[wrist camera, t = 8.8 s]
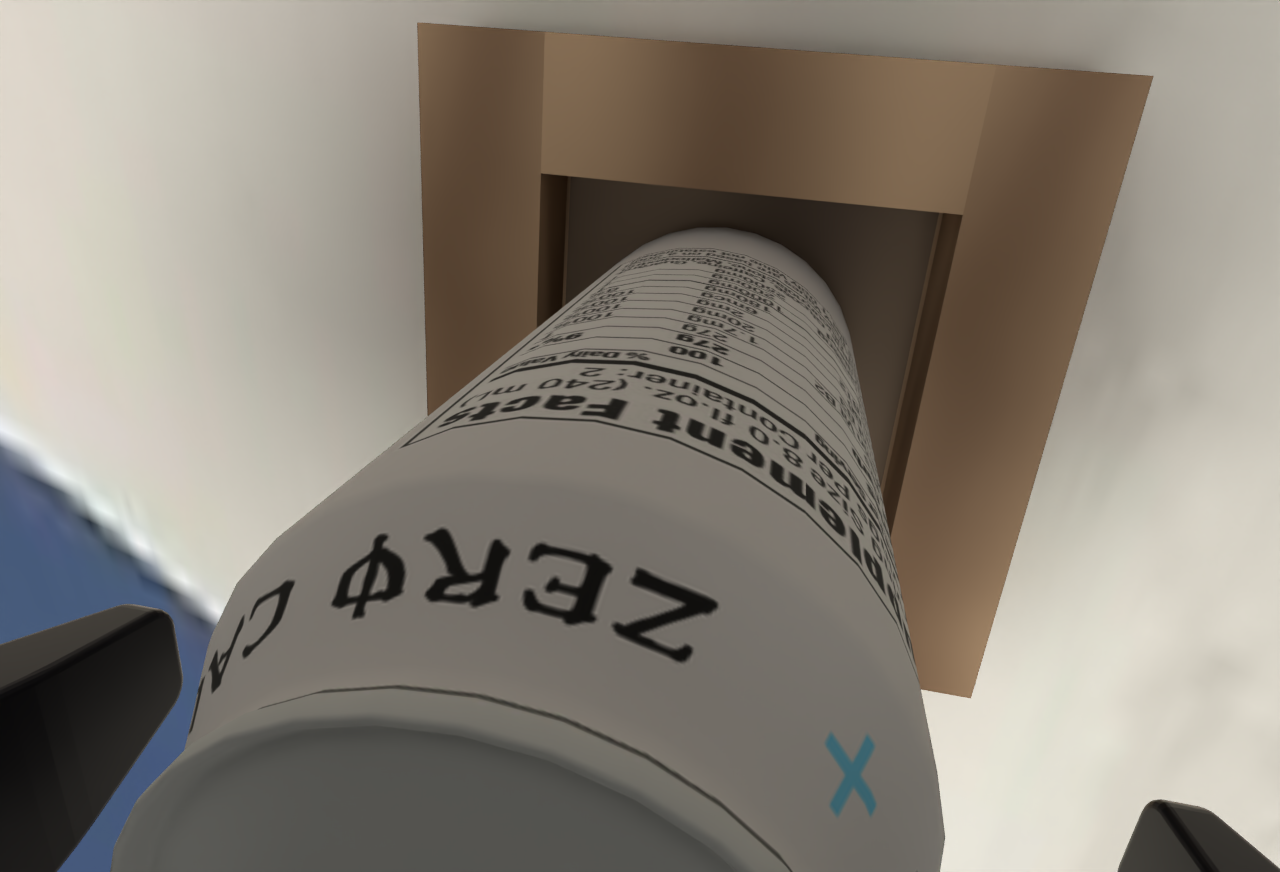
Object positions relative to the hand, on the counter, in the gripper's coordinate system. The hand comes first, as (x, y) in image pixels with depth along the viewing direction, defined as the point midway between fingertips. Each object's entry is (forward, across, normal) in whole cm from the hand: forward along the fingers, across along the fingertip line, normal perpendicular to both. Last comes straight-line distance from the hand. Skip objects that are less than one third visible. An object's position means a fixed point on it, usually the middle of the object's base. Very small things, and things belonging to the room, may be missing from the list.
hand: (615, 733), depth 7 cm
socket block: (+13, 0, 0) cm, 13 cm away
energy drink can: (+12, 0, 0) cm, 12 cm away
